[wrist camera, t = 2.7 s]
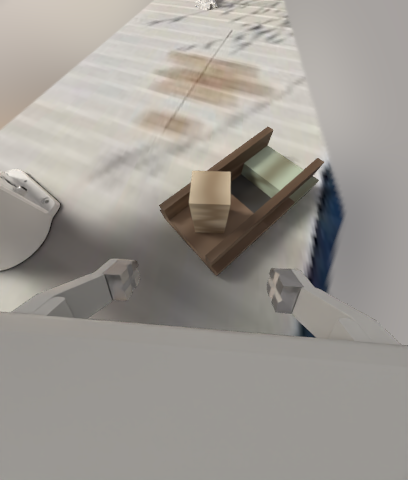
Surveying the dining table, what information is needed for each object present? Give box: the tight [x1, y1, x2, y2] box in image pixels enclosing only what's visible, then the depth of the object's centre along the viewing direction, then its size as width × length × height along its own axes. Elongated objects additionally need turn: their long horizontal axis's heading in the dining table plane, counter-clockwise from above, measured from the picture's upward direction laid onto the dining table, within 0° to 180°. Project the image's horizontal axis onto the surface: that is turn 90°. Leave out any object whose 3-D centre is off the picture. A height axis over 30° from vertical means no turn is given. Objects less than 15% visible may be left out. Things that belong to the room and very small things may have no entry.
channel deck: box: [159, 127, 324, 276], centre depth 26 cm, size 14×24×6 cm, turn 131°
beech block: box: [189, 171, 231, 233], centre depth 21 cm, size 4×4×8 cm
